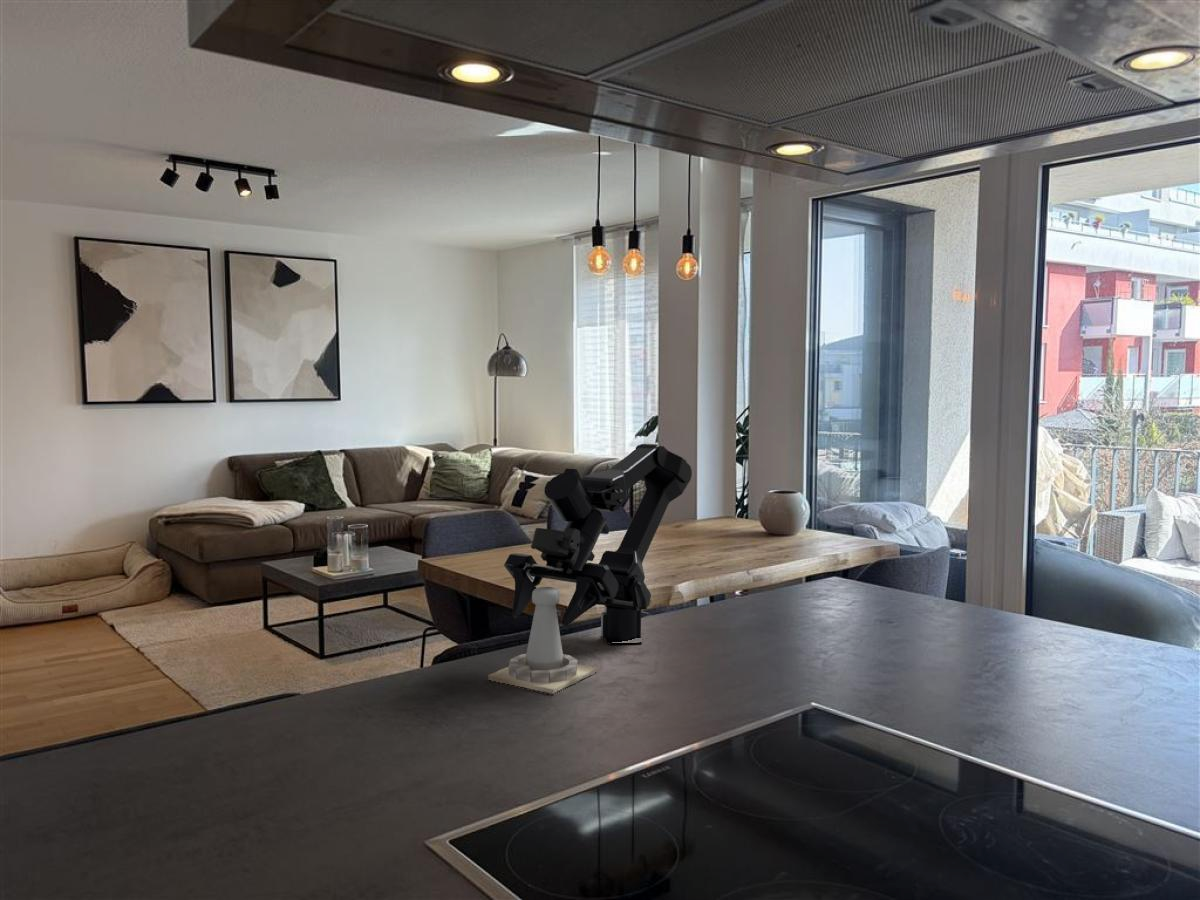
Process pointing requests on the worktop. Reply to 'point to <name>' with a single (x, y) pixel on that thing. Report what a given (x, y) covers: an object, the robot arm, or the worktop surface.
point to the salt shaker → (545, 631)
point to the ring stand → (541, 674)
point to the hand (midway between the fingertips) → (538, 620)
